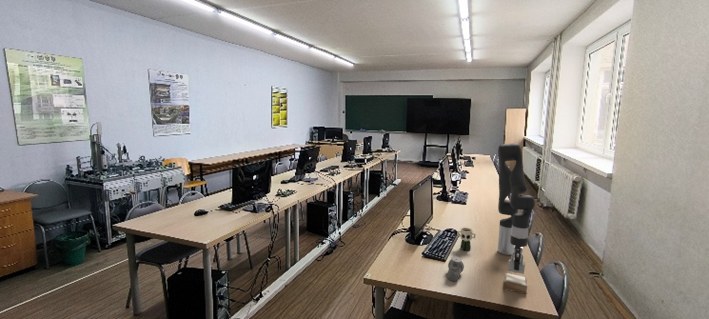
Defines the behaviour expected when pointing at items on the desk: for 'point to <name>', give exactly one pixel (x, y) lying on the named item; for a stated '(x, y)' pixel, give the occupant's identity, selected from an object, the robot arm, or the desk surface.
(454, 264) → the pipe fitting
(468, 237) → the character mug
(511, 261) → the padlock
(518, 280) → the base
